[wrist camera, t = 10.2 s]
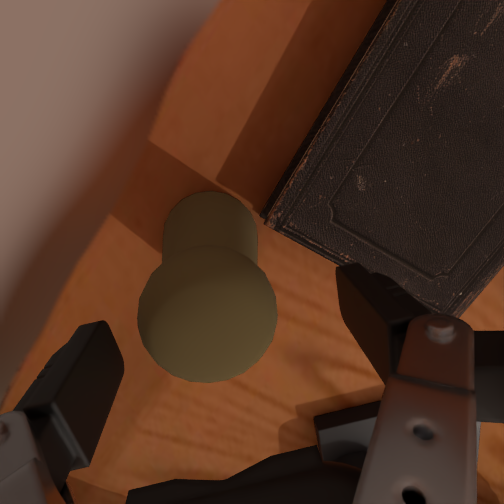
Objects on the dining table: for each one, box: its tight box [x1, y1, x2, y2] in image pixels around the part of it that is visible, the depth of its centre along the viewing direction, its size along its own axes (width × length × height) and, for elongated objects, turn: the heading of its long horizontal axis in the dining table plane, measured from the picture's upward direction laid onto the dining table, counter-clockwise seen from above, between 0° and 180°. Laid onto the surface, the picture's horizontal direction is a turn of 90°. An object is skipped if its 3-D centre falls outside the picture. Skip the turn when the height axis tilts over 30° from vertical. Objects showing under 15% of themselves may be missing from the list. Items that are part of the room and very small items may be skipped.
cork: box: [137, 191, 278, 383], centre depth 16 cm, size 6×6×11 cm
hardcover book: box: [259, 0, 504, 318], centre depth 19 cm, size 16×23×2 cm
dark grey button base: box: [314, 401, 481, 469], centre depth 29 cm, size 15×13×3 cm
